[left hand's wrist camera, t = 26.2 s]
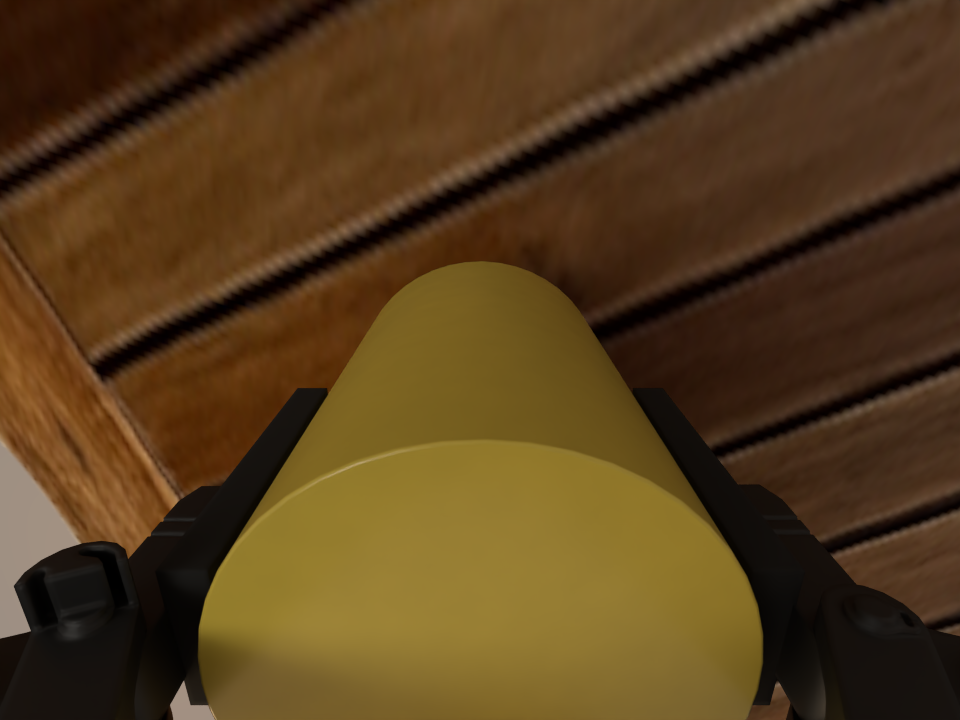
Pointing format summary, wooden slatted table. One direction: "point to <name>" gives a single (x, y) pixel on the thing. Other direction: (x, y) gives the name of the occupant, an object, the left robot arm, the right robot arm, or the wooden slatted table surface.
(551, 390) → the canister
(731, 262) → the wooden slatted table surface
